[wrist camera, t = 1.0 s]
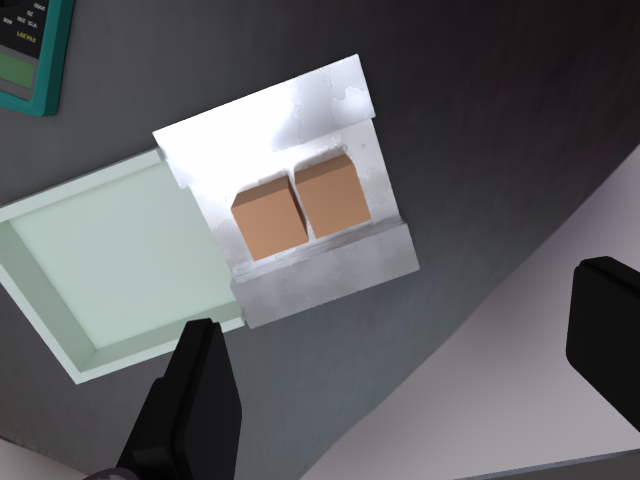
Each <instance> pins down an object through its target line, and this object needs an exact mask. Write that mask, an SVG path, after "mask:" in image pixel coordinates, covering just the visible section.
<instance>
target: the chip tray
mask: <svg viewBox="0 0 640 480" xmlns="http://www.w3.org/2000/svg"><path fill="white" fill-rule="evenodd" d="M232 276H233V275H232V273H231V271H230V269H229V267H228V264H227V262H226V260H225V258H224V256H223V254H222V252H221V250H220V248H219V246H218V244H217V242H216V240H215V238H214V236H213V234H212V232H211V230H210V228H209V226H208V224H207V222H206V220H205V218H204V215H203V213H202V211H201V209H200V207H199V205H198V203H197V201H196V199H195V197H194V195H193V193H192V191H191V189H190V187H189V186H188V187H186V188H183V189H180V187H179V185H178V183H177V181H176V179H175V177H174V175H173V173H172V171H171V169H170V167H169V165H168V163H167V161H166V159H165V157H164V155H163V153H162V151H161V149H160V147H159V146H157V147H154V148H152V149H149V150H146V151H144V152H141V153H139V154H136V155H133V156H131V157H128V158H126V159H123V160H120V161H118V162H115V163H112V164H110V165H107V166H105V167H102V168H99V169H97V170H94V171H91V172H89V173H86V174H84V175H81V176H78V177H76V178H73V179H70V180H68V181H65V182H63V183H60V184H57V185H55V186H52V187H50V188H47V189H44V190H42V191H39V192H36V193H34V194H31V195H29V196H26V197H23V198H21V199H18V200H15V201H13V202H10V203H8V204H5V205H3V206H0V282H1V283H2V285H3V286H4V287H5V289H6V290H7V291H8V293H9V294H10V295H11V297H12V298H13V300H14V301H15V302H16V304H17V305H18V306H19V308H20V309H21V310H22V312H23V313H24V314H25V316H26V317H27V318H28V320H29V321H30V322H31V324H32V325H33V327H34V328H35V329H36V331H37V332H38V333H39V335H40V336H41V337H42V339H43V340H44V341H45V343H46V344H47V345H48V347H49V348H50V349H51V351H52V352H53V354H54V355H55V356H56V358H57V359H58V360H59V362H60V363H61V364H62V366H63V367H64V368H65V370H66V371H67V372H68V374H69V375H70V376H71V378H72V379H73V381H74V382H75V383H76V384H79V383H82V382H85V381H88V380H90V379H93V378H96V377H99V376H102V375H105V374H107V373H110V372H113V371H116V370H119V369H122V368H124V367H127V366H130V365H133V364H136V363H139V362H142V361H144V360H147V359H150V358H153V357H156V356H159V355H161V354H164V353H167V352H170V351H173V350H175V348H176V346H177V343H178V341H179V339H180V336H181V334H182V332H183V329H184V327H185V324H186V323H187V321H190V320H197V319H203V318H211V319H212V321H213V323H214V322H219V323H220V325H221V328H222V332H223V333H224V332H227V331H229V330H232V329H235V328H238V327H241V326H244V325H245V317H244V315H243V313H242V311H241V309H240V307H239V305H238V303H237V301H236V299H235V297H234V295H233V293H232V291H231V289H230V283H231V280H232Z"/></svg>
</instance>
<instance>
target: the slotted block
mask: <svg viewBox="0 0 640 480" xmlns="http://www.w3.org/2000/svg"><path fill="white" fill-rule="evenodd" d="M373 117H375V112H374V109H373V105H372V102H371V99H370V95H369V92H368V88H367V85H366V81H365V78H364V74H363V71H362V68H361V64H360V61H359V57H358V54H356V55H353V56H351V57H348V58H345V59H343V60H340V61H338V62H335V63H332V64H330V65H327V66H325V67H322V68H319V69H317V70H314V71H312V72H309V73H306V74H304V75H301V76H298V77H296V78H293V79H291V80H288V81H285V82H283V83H280V84H278V85H275V86H272V87H270V88H267V89H265V90H262V91H259V92H257V93H254V94H252V95H249V96H246V97H244V98H241V99H239V100H236V101H233V102H231V103H228V104H226V105H223V106H220V107H218V108H215V109H212V110H210V111H207V112H205V113H202V114H199V115H197V116H194V117H192V118H189V119H186V120H184V121H181V122H179V123H176V124H173V125H171V126H168V127H166V128H163V129H160V130H158V131H155V132H153V135H154V137H155V139H156V141H157V143H158V145H159V147H160V149H161V151H162V153H163V155H164V157H165V159H166V161H167V163H168V165H169V167H170V169H171V171H172V173H173V175H174V177H175V179H176V181H177V183H178V185H179V187H180V189H183V188H186V187H188V186H189V187H190V189H191V191H192V193H193V195H194V197H195V199H196V201H197V203H198V205H199V207H200V209H201V211H202V213H203V215H204V218H205V220H206V222H207V224H208V226H209V228H210V230H211V232H212V234H213V236H214V238H215V240H216V242H217V244H218V246H219V248H220V250H221V252H222V254H223V256H224V258H225V260H226V262H227V264H228V267H229V269H230V271H231V273H232V275H233V276H232V280H231V283H230V289H231V291H232V293H233V295H234V297H235V299H236V301H237V303H238V305H239V307H240V309H241V311H242V313H243V315H244V317H245V319H246V321H247V323H248V325H249V327H250V329H252V328H255V327H258V326H261V325H263V324H266V323H269V322H272V321H275V320H278V319H281V318H283V317H286V316H289V315H292V314H295V313H298V312H300V311H303V310H306V309H309V308H312V307H315V306H317V305H320V304H323V303H326V302H329V301H332V300H335V299H337V298H340V297H343V296H346V295H349V294H352V293H354V292H357V291H360V290H363V289H366V288H369V287H372V286H374V285H377V284H380V283H383V282H386V281H389V280H391V279H394V278H397V277H400V276H403V275H406V274H408V273H411V272H414V271H417V270H420V267H419V264H418V260H417V257H416V254H415V250H414V247H413V243H412V240H411V236H410V233H409V229H408V226H407V223H406V222H405V221H404V220H403V218H402V217H401V216H400V215H399V211H398V208H397V204H396V201H395V198H394V194H393V191H392V187H391V184H390V181H389V177H388V174H387V171H386V167H385V164H384V160H383V157H382V154H381V150H380V147H379V143H378V140H377V137H376V133H375V130H374V126H373V123H372V120H371V118H373ZM345 153H346V155H347V156H348V157H349V158H350V159H351V161H352V162H353V163H354V165H355V168H356V171H357V175H358V178H359V181H360V184H361V187H362V190H363V193H364V196H365V199H366V202H367V205H368V209H369V212H370V215H371V218H372V219H371V220H368V221H366V222H363V223H360V224H357V225H354V226H352V227H349V228H346V229H343V230H341V231H338V232H335V233H332V234H329V235H327V236H324V237H321V238H318V239H316V238H315V235H314V233H313V230H312V227H311V225H310V222H309V220H308V217H307V214H306V212H305V209H304V207H303V204H302V202H301V199H300V196H299V194H298V191H297V189H296V186H295V178H294V172H297V171H299V170H302V169H305V168H307V167H310V166H313V165H315V164H318V163H321V162H324V161H326V160H329V159H332V158H334V157H337V156H340V155H342V154H345ZM286 175H288V177H289V180H290V182H291V185H292V187H293V190H294V192H295V195H296V197H297V200H298V203H299V205H300V208H301V210H302V213H303V215H304V218H305V221H306V223H307V230H308V237H309V242H307V243H305V244H302V245H299V246H296V247H293V248H291V249H288V250H285V251H282V252H280V253H277V254H274V255H271V256H268V257H266V258H263V259H260V260H257V261H255V262H254V260H253V258H252V255H251V253H250V251H249V249H248V247H247V245H246V242H245V240H244V238H243V236H242V234H241V232H240V229H239V227H238V225H237V223H236V221H235V219H234V216H233V214H232V212H231V210H230V208H231V206H232V204H233V202H234V199H235V197H236V195H237V193H240V192H243V191H245V190H248V189H251V188H253V187H256V186H259V185H262V184H264V183H267V182H270V181H272V180H275V179H278V178H280V177H283V176H286Z"/></svg>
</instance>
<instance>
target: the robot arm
mask: <svg viewBox="0 0 640 480" xmlns="http://www.w3.org/2000/svg"><path fill="white" fill-rule="evenodd" d="M566 356H567V359H568V361H569V363H570V364H571V366H572V367H573V368H574V369H575V370H576V371H578V372H579V373H580V374H581V375H582V376H583V377H584V378H585V379H586V380H587V381H588V382H589V383H590V384H591V385H592V386H593V387H594V388H595V389H596V390H597V391H598V392H599V393H600V394H601V395H602V396H603V397H604V398H605V399H606V400H607V401H608V402H609V403H610V404H611V405H612V406H613V407H614V408H615V409H616V410H617V411H618V412H619V413H620V414H621V415H622V416H623V417H624V418H625V419H626V420H627V421H628V422H629V423H631V424H632V425H633V426H634V427H635V428H636V429H637V430H638V431H639V432H640V272H638V271H636V270H634V269H632V268H630V267H629V266H627V265H625V264H623V263H621V262H619V261H617V260H615V259H614V258H612V257H608V256H603V257H597V258H590V259H584V260H583V261H581V263H580V264H579V266H577V267H576V268H575V270H574V276H573V286H572V295H571V305H570V314H569V324H568V333H567V343H566ZM241 420H242V408H241V402H240V398H239V394H238V391H237V387H236V383H235V379H234V375H233V371H232V367H231V363H230V359H229V356H228V352H227V348H226V344H225V340H224V336H223V332H222V328H221V325H220V323H219V322H214V323H213V321H212V319H211V318H203V319H197V320H190V321H187V323H186V324H185V327H184V329H183V332H182V334H181V336H180V339H179V341H178V343H177V346H176V348H175V351H174V353H173V355H172V358H171V360H170V362H169V365H168V367H167V370H166V372H165V374H164V377H160V378H157V379H156V380H155V381H154V383H153V385H152V387H151V389H150V391H149V394H148V396H147V398H146V400H145V403H144V405H143V407H142V409H141V412H140V414H139V416H138V418H137V421H136V423H135V425H134V427H133V429H132V432H131V434H130V436H129V438H128V441H127V443H126V445H125V447H124V450H123V452H122V454H121V456H120V459H119V461H118V463H117V465H116V468H107V469H105V470H102V471H99V472H96V473H94V474H92V475H90V476H88V477H86V478H85V479H83V480H234V473H235V466H236V458H237V451H238V443H239V436H240V428H241ZM455 480H640V449H635V450H628V451H622V452H616V453H610V454H603V455H598V456H591V457H585V458H579V459H573V460H567V461H562V462H555V463H550V464H543V465H537V466H532V467H526V468H520V469H514V470H508V471H502V472H497V473H490V474H484V475H478V476H473V477H466V478H461V479H455Z"/></svg>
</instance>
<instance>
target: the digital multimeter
mask: <svg viewBox="0 0 640 480" xmlns="http://www.w3.org/2000/svg"><path fill="white" fill-rule="evenodd" d="M73 3H74V0H0V106H2V107H5V108H8V109H11V110H14V111H18V112H22V113H25V114H29V115H32V116H37V117H41V116H48V115H53V114H55V113H56V112H57V108H58V100H59V93H60V85H61V78H62V71H63V63H64V56H65V49H66V44H67V38H68V32H69V26H70V21H71V15H72V9H73ZM48 4H49V6H48ZM47 10H48V12H47ZM46 15H47V18H46ZM45 21H46V23H45ZM44 27H45V29H44ZM43 33H44V35H43ZM42 39H43V41H42ZM41 44H42V46H41ZM40 50H41V52H40ZM39 56H40V58H39ZM19 97H20V98H19ZM24 99H25V100H24ZM27 100H28V101H27Z"/></svg>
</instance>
